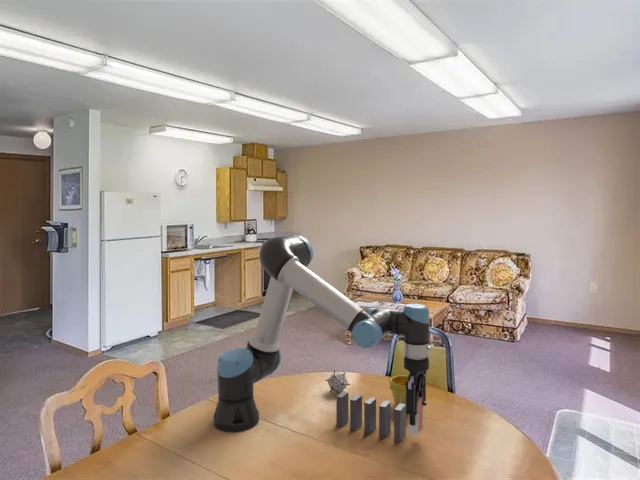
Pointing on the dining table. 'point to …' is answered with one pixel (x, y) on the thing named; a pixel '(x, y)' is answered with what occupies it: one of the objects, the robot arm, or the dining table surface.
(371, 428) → the domino
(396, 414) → the domino
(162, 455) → the dining table surface
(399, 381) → the plant pot
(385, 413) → the domino
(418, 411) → the domino
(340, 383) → the game die
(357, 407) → the domino
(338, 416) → the domino
